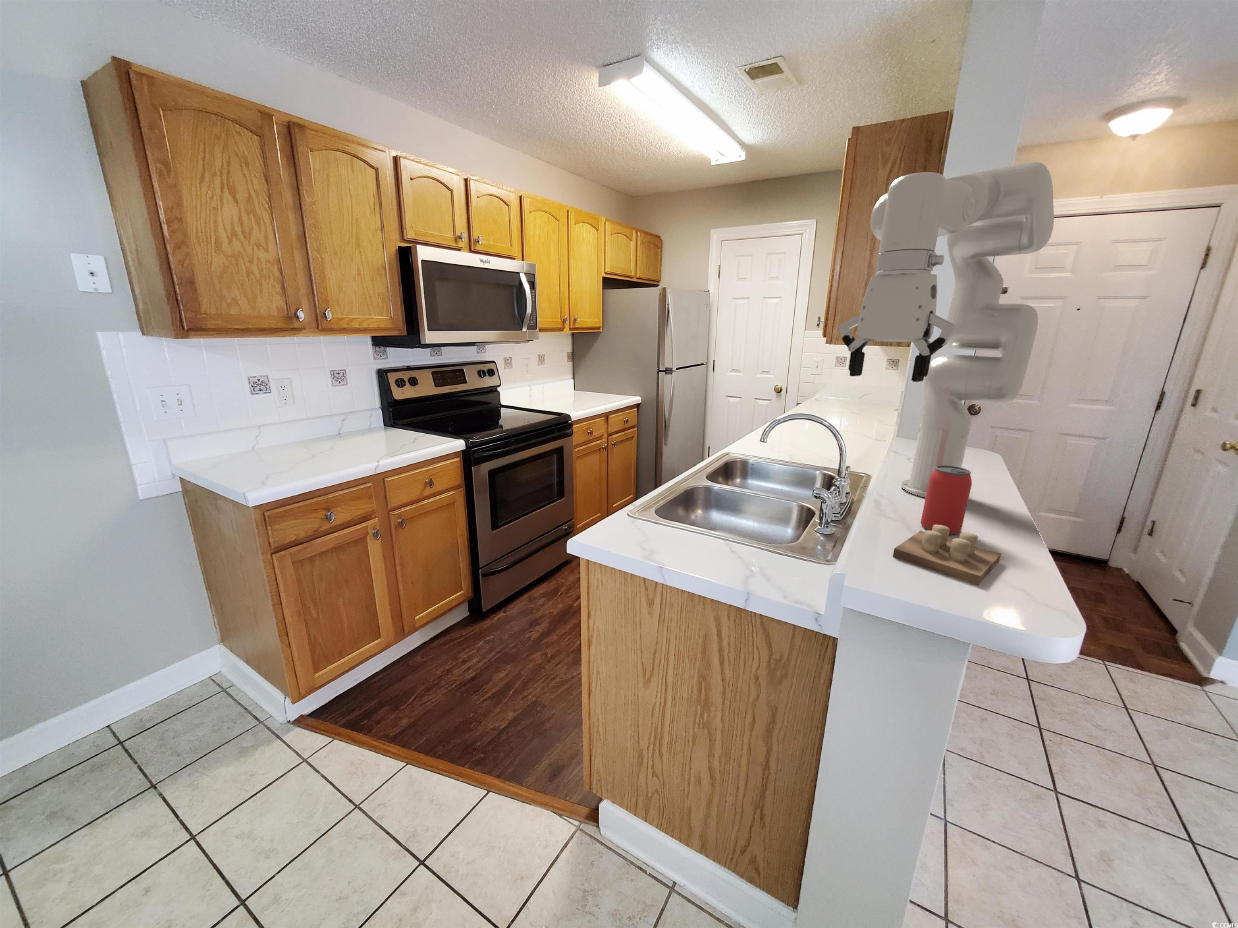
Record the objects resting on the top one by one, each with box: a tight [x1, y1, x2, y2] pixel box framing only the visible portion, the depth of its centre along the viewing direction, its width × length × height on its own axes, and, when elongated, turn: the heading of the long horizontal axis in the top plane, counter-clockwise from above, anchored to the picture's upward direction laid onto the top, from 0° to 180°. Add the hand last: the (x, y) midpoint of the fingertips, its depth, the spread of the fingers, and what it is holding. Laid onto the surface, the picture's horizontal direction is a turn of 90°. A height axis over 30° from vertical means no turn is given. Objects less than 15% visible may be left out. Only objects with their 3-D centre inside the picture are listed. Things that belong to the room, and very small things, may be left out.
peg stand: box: [892, 525, 1002, 586], centre depth 80 cm, size 12×12×4 cm
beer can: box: [920, 465, 973, 536], centre depth 92 cm, size 7×7×12 cm
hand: (885, 378), depth 79 cm, fingers open, 9 cm apart
